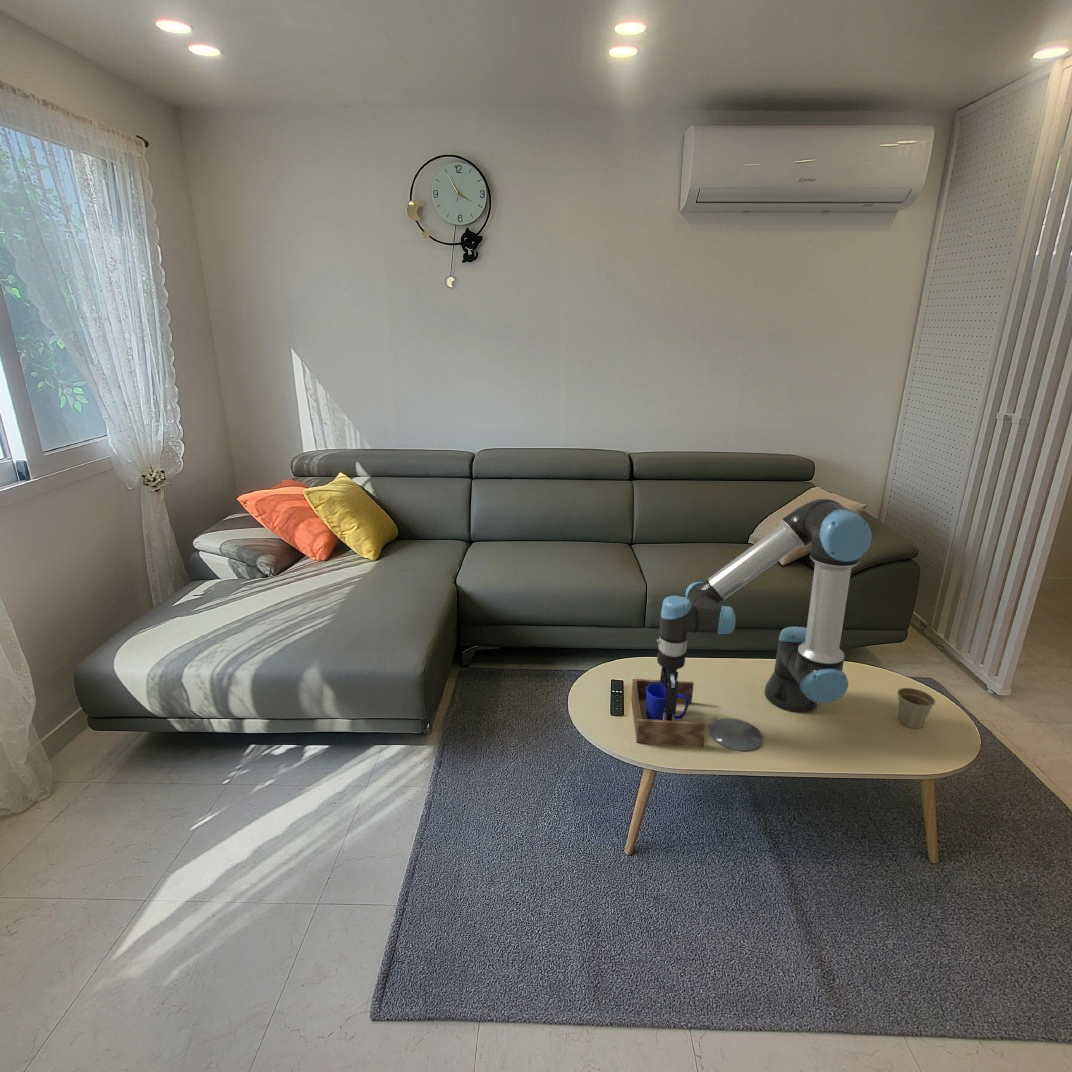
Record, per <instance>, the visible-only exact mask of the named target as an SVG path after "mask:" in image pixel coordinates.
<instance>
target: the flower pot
mask: <svg viewBox="0 0 1072 1072" xmlns="http://www.w3.org/2000/svg"><path fill="white" fill-rule="evenodd" d="M897 696H898V712H897V713H898V714H897V719H898V721H899V722H900V724H901V725H903V726H905V727H907V728H911V729H914V728H916V729H921V728H922V727H923V726H924V724H925V721H926V719H927V717H928V715H929V712H930V711H931V709H932V708H933V706H935V705H936V699H935V697H933V696H932V695H931V694H929V693H927V692H926V691H923V690H920V689H918V688H912V687H901V688H899V689H898V690H897Z"/></svg>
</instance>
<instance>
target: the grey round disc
mask: <svg viewBox="0 0 1072 1072" xmlns="http://www.w3.org/2000/svg"><path fill="white" fill-rule="evenodd" d="M709 733H710V735H711V737H712V739H713V740H714V741H715V742H716V743H717V744H719V745H720V746H722V747H724V748H726V749H729V750H731V751H735V752H744V753H745V752H753V751H755V750H757V749H760V748H761V746H762V744H763V740H764V739H763V734H762V733H761V731H760V730H759V729H758V728H757V727H756V726H755V725H753V724H752V723H749V722H747V721H745V720H743V719H739V718H733V717H725V718H724V717H723V718H719V719H716V720H715V721H713V722H712V723H711V725H710V727H709Z"/></svg>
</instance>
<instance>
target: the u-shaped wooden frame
mask: <svg viewBox="0 0 1072 1072" xmlns="http://www.w3.org/2000/svg"><path fill="white" fill-rule="evenodd" d="M677 681H678V687H677V694H682V695H687V696H689V704H688V705H692V703H693V702H692V701H693V694H694V681H683V680H682V681H681V680H677ZM631 683H632V684H631V686H632V687H631V698H630V699H631V707H632V716H633V717H632V718H633V725H634V731H635V732H634V734H635V742H636V743H637V744H649V745H651V744H652V745H664V746H665V745H667V746H668V745H669V746H681V747H682V746H684V747H685V746H686V747H698V748H699V747H702V748H703V747H704V745H705V737H706V729H707V723H706V722H702V721H701V722H700V721H684V720H683V721H682V720H680V721H679V720H673V721H668V720H651V719H647V718H642V713H641V705H640V702H646V689H647V687H648V686H649V685H650V684H653V683H660V679H646V678H643V679H642V678H632V682H631ZM686 701H687V699H684V698H677V700H676V704H685V705H686Z"/></svg>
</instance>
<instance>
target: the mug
mask: <svg viewBox="0 0 1072 1072" xmlns="http://www.w3.org/2000/svg"><path fill="white" fill-rule="evenodd" d="M665 691H666V687H665V686H664V684H662V683H653V684H650V685H649V686H648V687H647V689H646V701H645V702H646V708H645V709H646V713H645V714H646V719H651V720H663V716H664V712H662V710H664V709H665ZM677 698H684V699H687V701H686V704H685V706H684V709H683V711H682V713H681V714H680V715H677V714H676V715H674V719H676V720H681V719H683V718H684V717H685V716H686V714H687V712H688V707H689V705H690V704H689V696H687V695H682V694H677Z"/></svg>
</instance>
